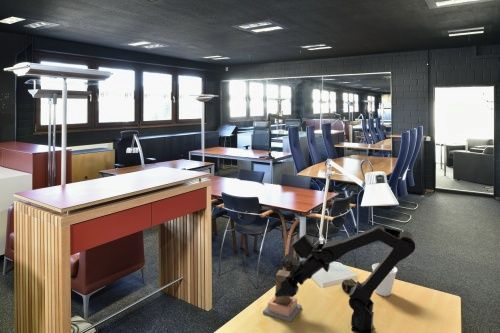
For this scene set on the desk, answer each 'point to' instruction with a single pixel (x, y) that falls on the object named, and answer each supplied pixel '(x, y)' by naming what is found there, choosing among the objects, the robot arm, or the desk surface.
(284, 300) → the walnut pillar
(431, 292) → the desk surface
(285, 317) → the socket stand
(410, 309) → the desk surface
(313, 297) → the desk surface
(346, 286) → the tape measure
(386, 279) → the cup
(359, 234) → the robot arm
